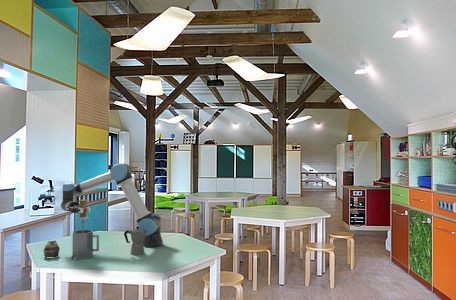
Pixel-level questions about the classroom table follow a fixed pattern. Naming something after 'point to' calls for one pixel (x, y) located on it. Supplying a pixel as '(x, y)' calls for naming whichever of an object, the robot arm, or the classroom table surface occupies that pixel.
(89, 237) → the press carafe
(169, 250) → the classroom table surface
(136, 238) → the coffeepot
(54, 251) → the cupcake
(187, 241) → the classroom table surface
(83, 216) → the plunger
